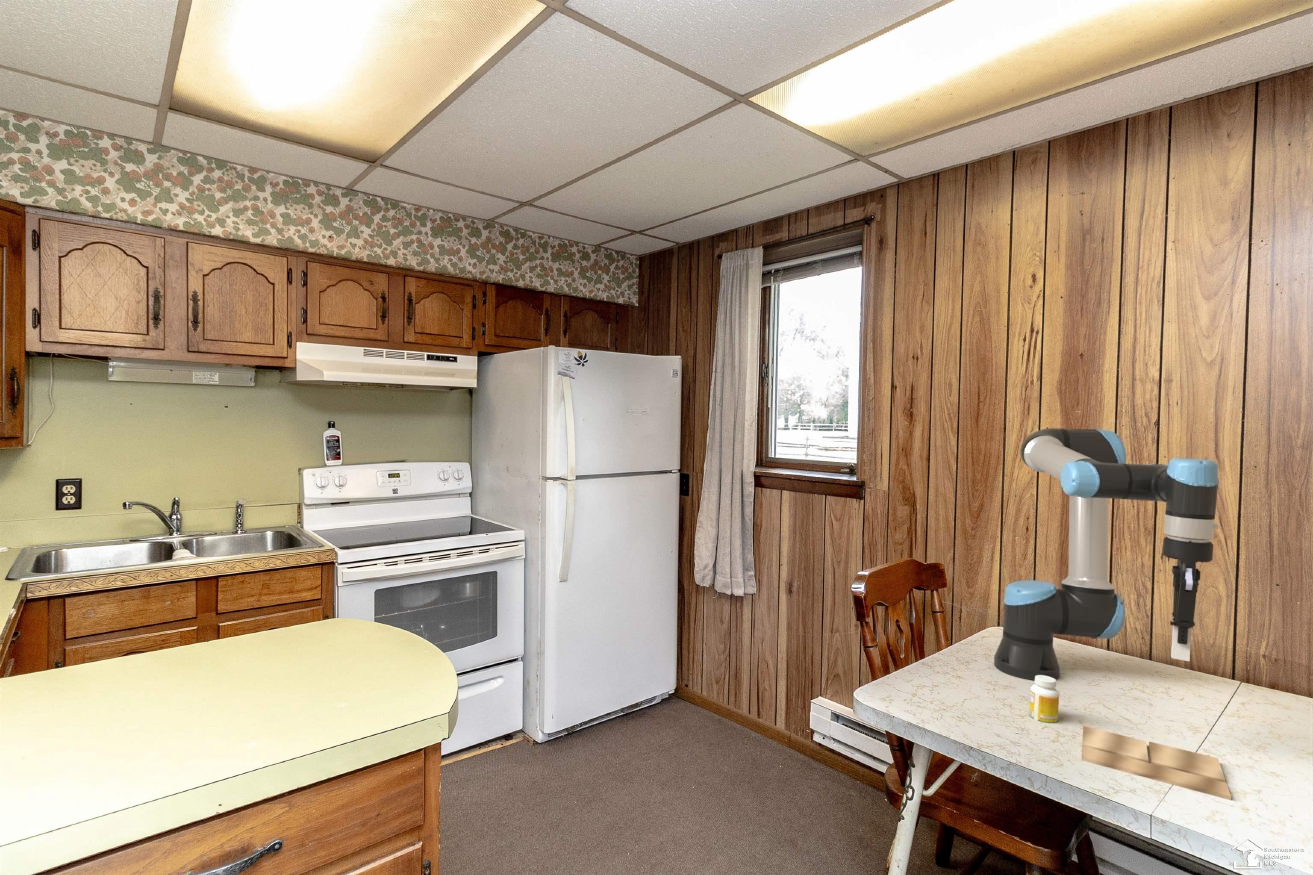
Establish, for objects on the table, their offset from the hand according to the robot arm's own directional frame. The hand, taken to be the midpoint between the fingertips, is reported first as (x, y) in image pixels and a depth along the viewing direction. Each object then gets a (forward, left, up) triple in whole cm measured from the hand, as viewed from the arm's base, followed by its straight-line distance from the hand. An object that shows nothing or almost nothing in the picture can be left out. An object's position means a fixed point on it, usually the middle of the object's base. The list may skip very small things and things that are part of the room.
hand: (1180, 658), depth 128 cm
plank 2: (+1, -4, -19) cm, 20 cm away
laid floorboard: (-4, -12, -20) cm, 24 cm away
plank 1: (-10, -4, -19) cm, 22 cm away
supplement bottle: (-22, +2, -20) cm, 30 cm away
